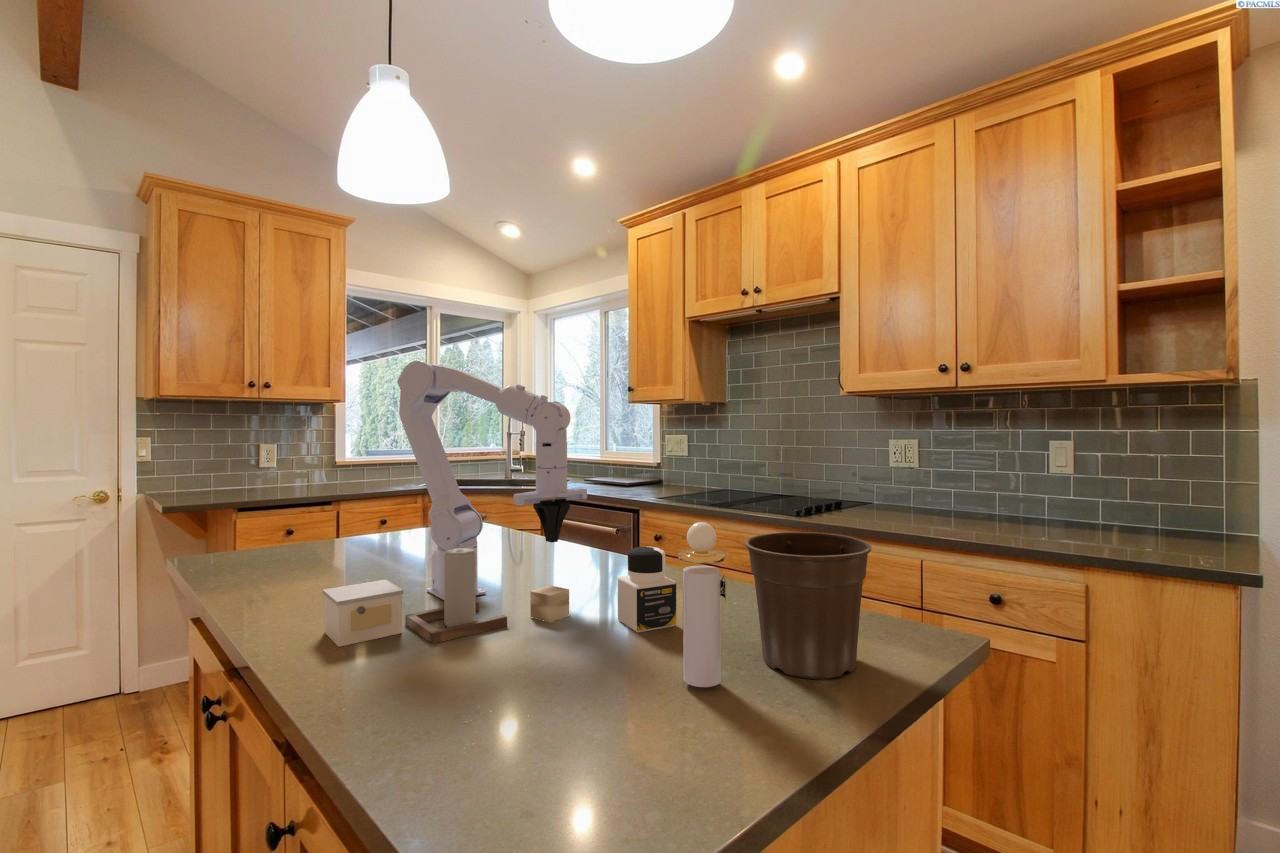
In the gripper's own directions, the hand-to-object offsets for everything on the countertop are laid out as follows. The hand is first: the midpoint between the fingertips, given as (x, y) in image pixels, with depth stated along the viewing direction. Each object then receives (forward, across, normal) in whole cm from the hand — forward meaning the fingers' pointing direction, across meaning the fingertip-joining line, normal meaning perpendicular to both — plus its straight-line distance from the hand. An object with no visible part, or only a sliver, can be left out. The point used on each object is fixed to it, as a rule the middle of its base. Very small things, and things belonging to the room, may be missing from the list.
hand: (551, 541), depth 112 cm
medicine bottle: (+11, +4, -22) cm, 25 cm away
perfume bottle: (+11, -6, -44) cm, 46 cm away
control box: (+10, -32, +3) cm, 34 cm away
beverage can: (+11, -19, -3) cm, 22 cm away
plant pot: (+11, +10, -48) cm, 50 cm away
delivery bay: (+10, -20, -3) cm, 23 cm away
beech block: (+10, -6, -9) cm, 15 cm away
